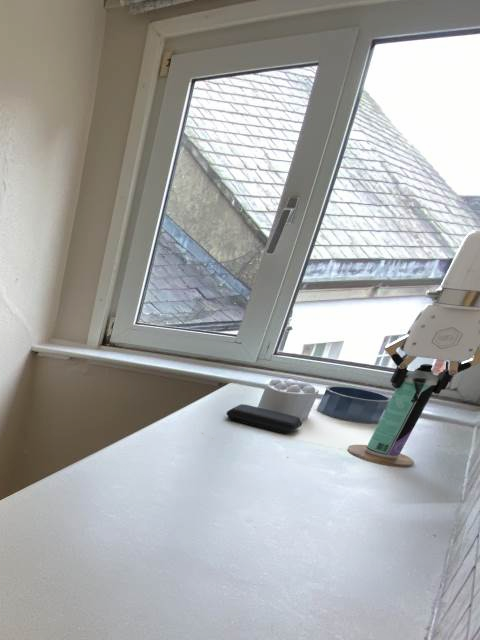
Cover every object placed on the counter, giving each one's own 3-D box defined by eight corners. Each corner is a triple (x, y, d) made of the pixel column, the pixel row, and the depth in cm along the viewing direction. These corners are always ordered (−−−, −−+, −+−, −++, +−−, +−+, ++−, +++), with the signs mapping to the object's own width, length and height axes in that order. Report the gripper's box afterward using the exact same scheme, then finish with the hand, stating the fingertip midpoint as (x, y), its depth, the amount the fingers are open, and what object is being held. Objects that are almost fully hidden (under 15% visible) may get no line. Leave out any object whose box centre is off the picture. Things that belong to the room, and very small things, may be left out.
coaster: (426, 466, 117) (428, 463, 117) (383, 467, 116) (384, 465, 115) (375, 446, 127) (376, 444, 126) (334, 447, 125) (335, 444, 125)
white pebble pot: (312, 415, 146) (326, 384, 142) (293, 424, 139) (308, 391, 135) (267, 404, 153) (280, 374, 150) (248, 412, 147) (260, 380, 143)
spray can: (402, 460, 118) (452, 369, 109) (371, 456, 119) (417, 365, 110) (390, 451, 122) (436, 363, 113) (360, 447, 124) (404, 359, 115)
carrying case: (302, 428, 136) (236, 411, 146) (308, 416, 135) (240, 400, 145) (290, 437, 130) (222, 419, 140) (295, 425, 129) (226, 407, 139)
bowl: (395, 423, 143) (406, 401, 140) (350, 423, 141) (361, 401, 138) (345, 406, 155) (355, 385, 152) (304, 406, 153) (313, 385, 150)
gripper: (407, 296, 107) (365, 386, 115) (533, 306, 99) (477, 402, 107) (398, 293, 113) (358, 378, 121) (515, 302, 105) (464, 393, 113)
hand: (414, 388), depth 114 cm, fingers closed on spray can, 5 cm apart
